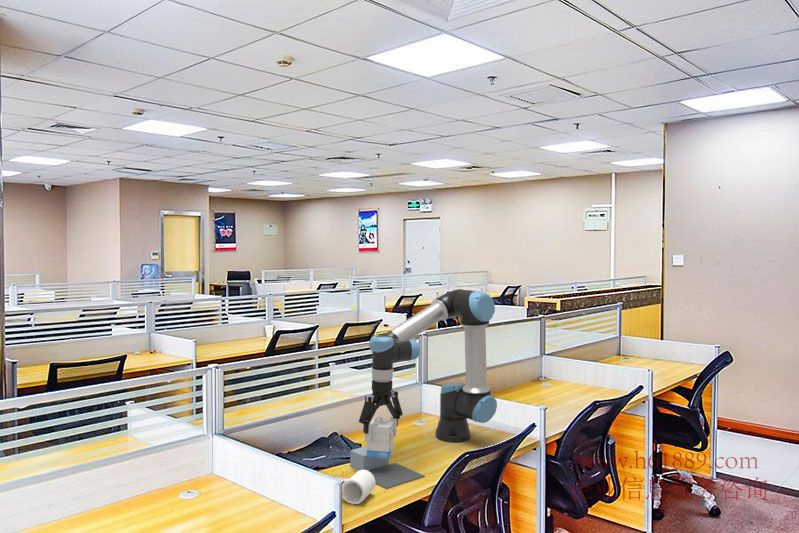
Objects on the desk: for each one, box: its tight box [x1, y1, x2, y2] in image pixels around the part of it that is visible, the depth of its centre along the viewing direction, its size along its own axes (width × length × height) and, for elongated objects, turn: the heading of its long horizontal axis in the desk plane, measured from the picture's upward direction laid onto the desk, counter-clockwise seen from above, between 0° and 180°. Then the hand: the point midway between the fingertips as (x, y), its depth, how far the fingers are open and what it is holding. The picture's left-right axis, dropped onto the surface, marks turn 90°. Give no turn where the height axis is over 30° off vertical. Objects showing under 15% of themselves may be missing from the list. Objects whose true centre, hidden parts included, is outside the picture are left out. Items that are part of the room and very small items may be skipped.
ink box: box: [366, 415, 395, 460], centre depth 228 cm, size 9×8×13 cm
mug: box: [342, 470, 376, 505], centre depth 204 cm, size 12×10×8 cm
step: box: [349, 445, 390, 471], centre depth 233 cm, size 12×8×6 cm, turn 131°
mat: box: [369, 462, 425, 490], centre depth 224 cm, size 18×16×1 cm
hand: (380, 438), depth 228 cm, fingers closed on ink box, 11 cm apart
